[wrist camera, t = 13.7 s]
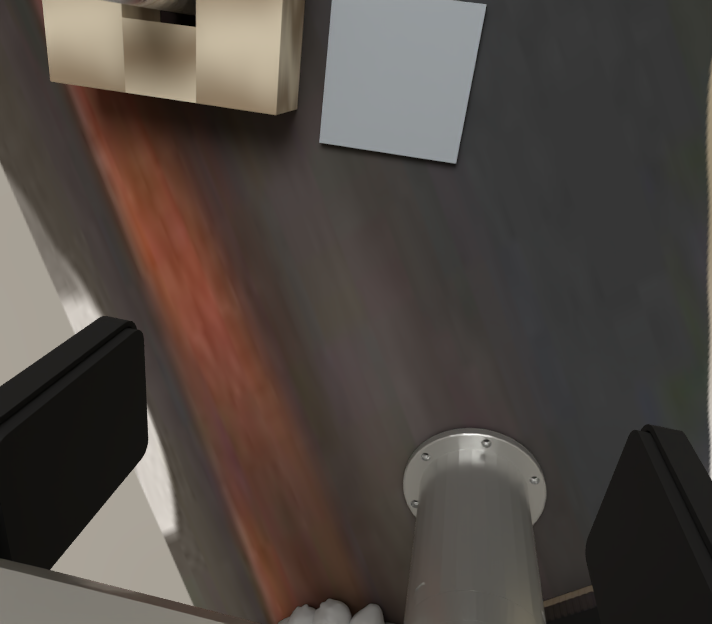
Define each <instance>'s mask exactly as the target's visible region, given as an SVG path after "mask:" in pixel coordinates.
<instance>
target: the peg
mask: <svg viewBox="0 0 712 624" xmlns="http://www.w3.org/2000/svg"><path fill="white" fill-rule="evenodd" d="M103 1H109V2H115V3H121V4H127V5H133V6H139V7H145V8H151V9H157V10H163V11H169V12H175V13H182V14H188V15H195V16H196V0H103Z"/></svg>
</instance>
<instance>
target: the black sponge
mask: <svg viewBox="0 0 712 624" xmlns="http://www.w3.org/2000/svg"><path fill="white" fill-rule="evenodd" d="M543 605H544V612H545V619H546V624H601V622H600V617H599V613H598V609H597V604H596V600H595V596H594V592H593V587H592V585H591V586H587V587H585V588H581V589H579V590H576V591H574V592H569V593H567V594H564V595H561V596H558V597H555V598H552V599H549V600H546V601H543Z"/></svg>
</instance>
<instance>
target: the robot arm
mask: <svg viewBox="0 0 712 624" xmlns="http://www.w3.org/2000/svg"><path fill="white" fill-rule="evenodd" d="M147 445H148V423H147V401H146V378H145V356H144V337H143V333H142V332H141V331H140V330H137V328H136V325H135V323H133V322H132V321H128V320H123V319H118V318H113V317H108V316H102V317H100V318H98V319H97V320H95V321H94V322H93V323H91V324H90V325H88V326H87V327H85V328H84V329H82V330H81V331H80V332H78V333H77V334H75V335H74V336H72V337H71V338H69V339H68V340H67V341H65V342H64V343H62V344H61V345H60V346H58V347H56V348H55V349H54V350H52V351H51V352H49V353H48V354H47V355H45V356H43V357H42V358H41V359H39V360H38V361H36V362H35V363H33V364H32V365H31V366H29V367H28V368H26V369H25V370H23V371H22V372H21V373H19V374H18V375H16V376H15V377H13V378H12V379H10V380H9V381H7V382H6V383H5V384H3V385H2V386H0V624H260V623H256V622H253V621H249V620H245V619H241V618H237V617H233V616H229V615H225V614H222V613H218V612H214V611H210V610H206V609H202V608H198V607H194V606H190V605H186V604H182V603H179V602H175V601H171V600H167V599H163V598H159V597H155V596H150V595H147V594H143V593H139V592H135V591H131V590H127V589H123V588H119V587H115V586H111V585H107V584H103V583H99V582H95V581H91V580H87V579H83V578H79V577H75V576H71V575H67V574H63V573H59V572H55V571H51V570H50V569H51V568H52V567H53V565H54V564H55V563H56V562H57V561H58V559H59V558H60V557H61V556H62V555H63V553H64V552H65V551H66V550H67V548H68V547H69V546H70V545H71V544H72V542H73V541H74V540H75V539H76V538H77V536H78V535H79V534H80V533H81V532H82V530H83V529H84V528H85V527H86V525H87V524H88V523H89V522H90V520H91V519H92V518H93V517H94V516H95V514H96V513H97V512H98V511H99V510H100V508H101V507H102V506H103V505H104V503H105V502H106V501H107V500H108V499H109V498H110V496H111V495H112V494H113V493H114V491H115V490H116V489H117V488H118V486H119V485H120V484H121V483H122V482H123V481H124V479H125V478H126V477H127V476H128V475H129V473H130V472H131V471H132V470H133V469H134V467H135V466H136V465H137V464H138V462H139V461H140V460H141V459H142V457H143V456H144V454H145V452H146V449H147ZM403 492H404V496H405V500H406V503H407V505H408V507H409V508H410V510H411V512H412V513H413V515H414V516H415V517H416V523H415V532H414V541H413V549H412V558H411V566H410V575H409V583H408V592H407V600H406V609H405V617H404V624H546V619H545V612H544V605H543V598H542V590H541V583H540V576H539V569H538V562H537V554H536V547H535V540H534V533H533V525H534V524H535V522H536V521H537V520H538V519H539V517H540V515H541V513H542V511H543V509H544V507H545V502H546V483H545V479H544V474H543V472H542V469H541V467H540V465H539V463H538V462H537V460H536V459H535V458H534V456H533V455H532V454H531V453H530V452H529V451H528V450H527V449H526V448H525V447H524V446H523V445H521V444H520V443H518V442H517V441H515V440H514V439H512V438H510V437H508V436H505V435H503V434H501V433H498V432H494V431H490V430H486V429H478V428H461V429H453V430H449V431H445V432H442V433H440V434H437V435H435V436H433V437H431V438H429V439H428V440H426V441H425V442H423V443H422V444H421V445H420V446H419V447H418V448H417V449H416V450H415V451H414V452H413V453H412V455H411V457H410V458H409V460H408V462H407V465H406V468H405V472H404V479H403ZM586 562H587V566H588V570H589V574H590V579H591V583H592V587H593V592H594V596H595V600H596V604H597V609H598V613H599V617H600V622H601V624H712V480H711V478H710V477H709V475H708V473H707V471H706V470H705V468H704V466H703V464H702V463H701V461H700V459H699V458H698V456H697V454H696V452H695V451H694V449H693V447H692V445H691V444H690V442H689V440H688V439H687V437H686V435H685V434H684V433H683V432H682V431H679V430H674V429H669V428H664V427H659V426H654V425H649V424H647V425H645V426H644V427H643V428H642V429H641V431H638V430H633V431H632V432H631V433H630V435H629V437H628V439H627V442H626V444H625V447H624V449H623V452H622V454H621V457H620V459H619V462H618V464H617V467H616V469H615V471H614V474H613V476H612V479H611V481H610V484H609V486H608V489H607V491H606V494H605V496H604V499H603V501H602V504H601V506H600V509H599V511H598V514H597V516H596V519H595V521H594V524H593V526H592V529H591V531H590V534H589V536H588V539H587V543H586Z"/></svg>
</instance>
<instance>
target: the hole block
mask: <svg viewBox="0 0 712 624" xmlns="http://www.w3.org/2000/svg"><path fill="white" fill-rule="evenodd" d="M42 3H43V12H44V22H45V32H46V42H47V52H48V62H49V72H50V81H52V82H58V83H65V84H72V85H78V86H85V87H92V88H98V89H105V90H112V91H118V92H125V93H132V94H138V95H145V96H152V97H158V98H165V99H172V100H178V101H185V102H192V103H199V104H205V105H212V106H219V107H225V108H232V109H239V110H245V111H252V112H259V113H265V114H272V115H278V114H282V113H286V112H289V111H293V110H296V109H297V105H298V92H299V78H300V64H301V50H302V36H303V22H304V8H305V0H196V27H192V26H185V25H177V24H170V23H162V22H160V10H157V9H151V8H145V7H139V6H133V5H127V4H121V3H115V2H109V1H103V0H42Z"/></svg>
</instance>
